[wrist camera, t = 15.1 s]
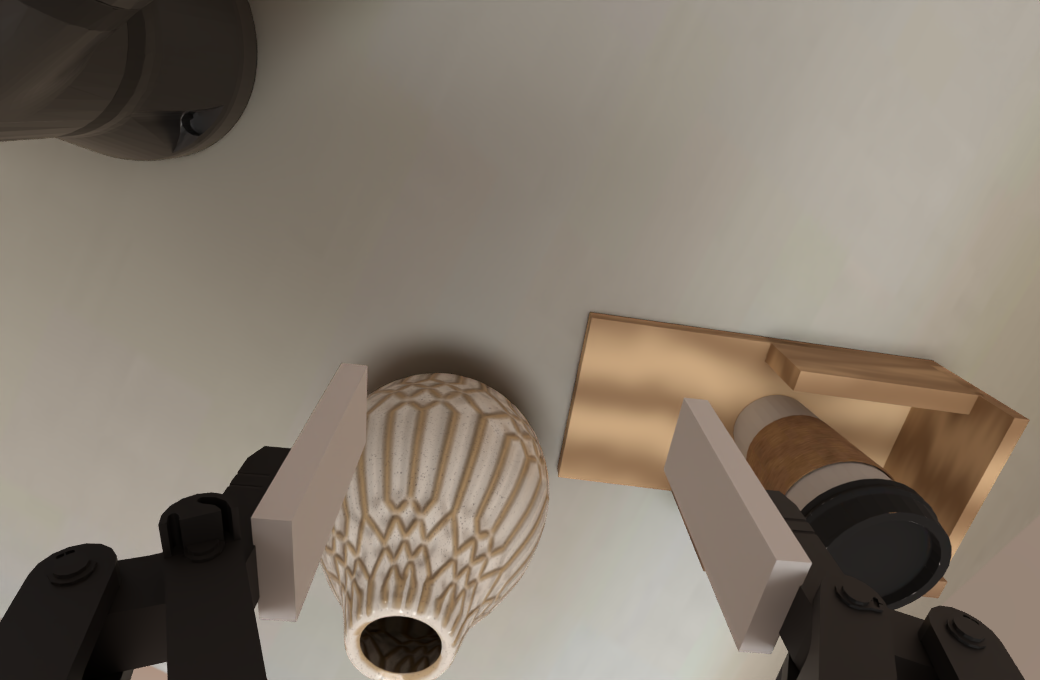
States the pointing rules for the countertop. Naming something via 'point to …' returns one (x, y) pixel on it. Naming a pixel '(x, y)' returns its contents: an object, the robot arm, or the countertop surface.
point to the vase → (433, 522)
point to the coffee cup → (846, 499)
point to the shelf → (794, 373)
